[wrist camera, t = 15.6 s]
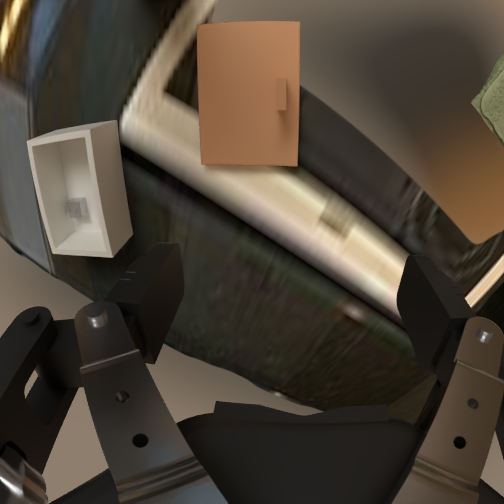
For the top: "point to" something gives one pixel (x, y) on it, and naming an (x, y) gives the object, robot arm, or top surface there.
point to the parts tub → (82, 188)
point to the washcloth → (493, 101)
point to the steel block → (77, 207)
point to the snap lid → (249, 92)
